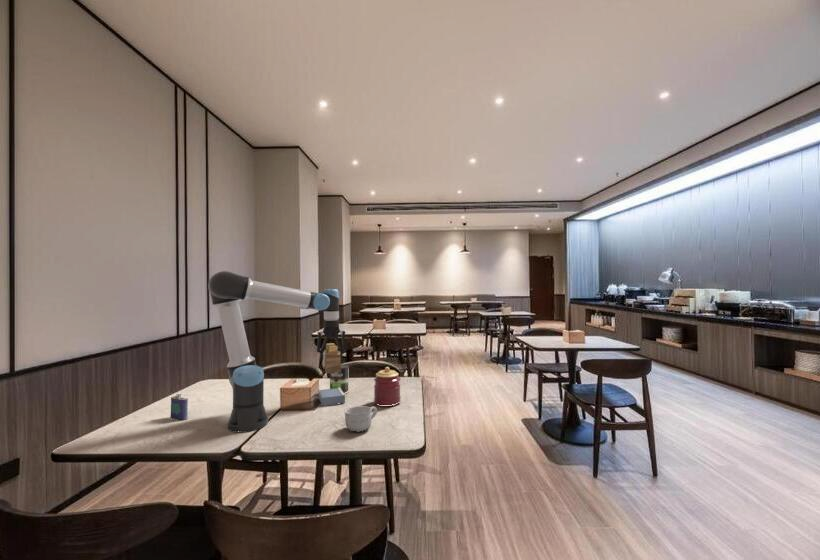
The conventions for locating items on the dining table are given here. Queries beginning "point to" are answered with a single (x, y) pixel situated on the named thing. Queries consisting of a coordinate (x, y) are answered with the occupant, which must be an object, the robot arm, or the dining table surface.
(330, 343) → the crate
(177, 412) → the flask
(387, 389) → the canister
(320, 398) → the dock
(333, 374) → the coffee can
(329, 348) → the crate
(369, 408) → the teacup
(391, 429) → the dining table surface
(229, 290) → the robot arm
